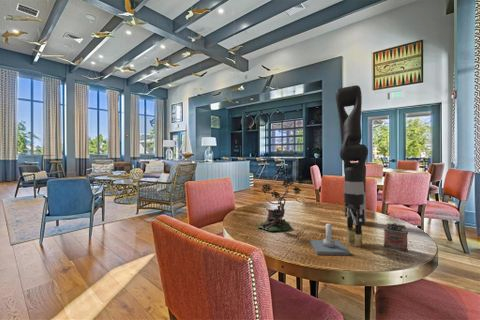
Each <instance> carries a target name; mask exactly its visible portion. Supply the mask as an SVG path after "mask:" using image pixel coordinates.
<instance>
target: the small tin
mask: <svg viewBox="0 0 480 320" xmlns="http://www.w3.org/2000/svg"><path fill="white" fill-rule="evenodd" d="M406 229H407V227H406V225H404V224H398V223H396V222H394V223H390V222H387V223H386V227H383V233H384V235H383V237H384V240H383V241H384V242H383V247H384V248H386V249H390V250H391V251H397V252H403V253H408V252H409V249H408V234H409V233H408V232H409V231H407V230H406Z"/></svg>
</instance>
